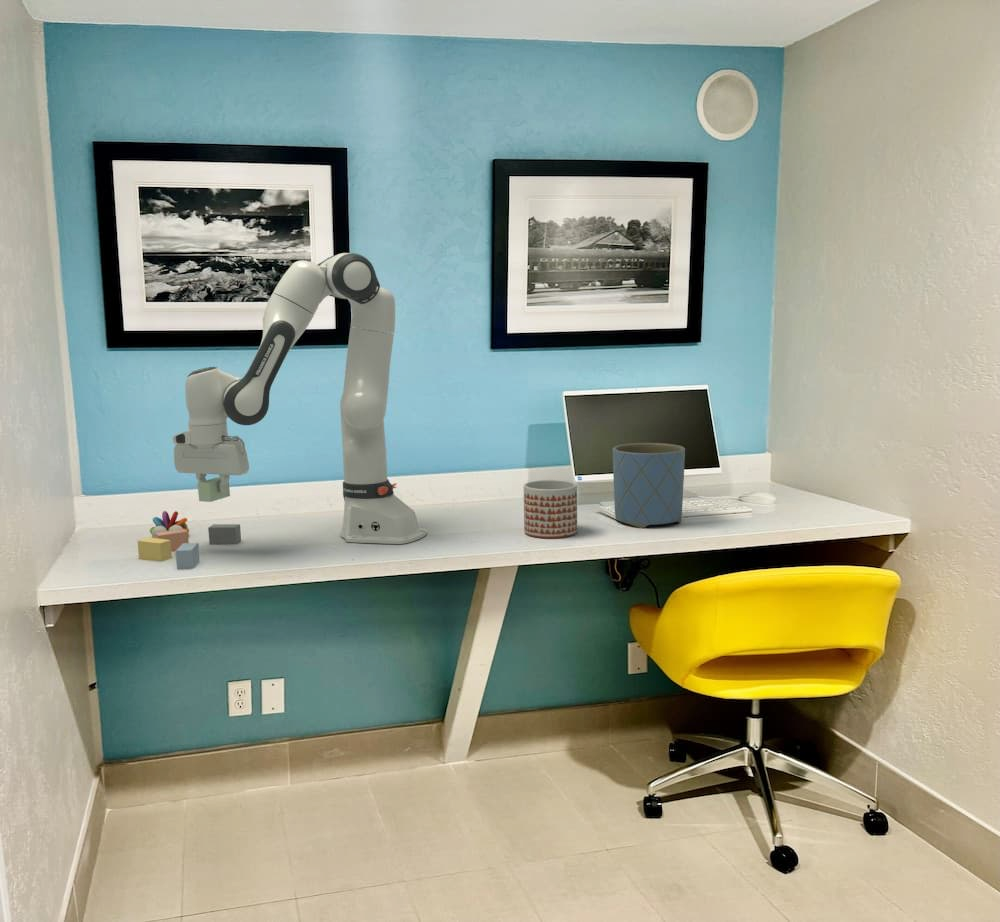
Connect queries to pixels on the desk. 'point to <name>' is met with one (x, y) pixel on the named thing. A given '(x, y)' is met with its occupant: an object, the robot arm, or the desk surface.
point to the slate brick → (187, 556)
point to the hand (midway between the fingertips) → (214, 491)
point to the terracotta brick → (174, 537)
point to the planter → (648, 483)
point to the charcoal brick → (224, 534)
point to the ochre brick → (154, 549)
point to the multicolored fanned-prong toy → (168, 524)
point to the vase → (550, 508)
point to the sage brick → (211, 490)
